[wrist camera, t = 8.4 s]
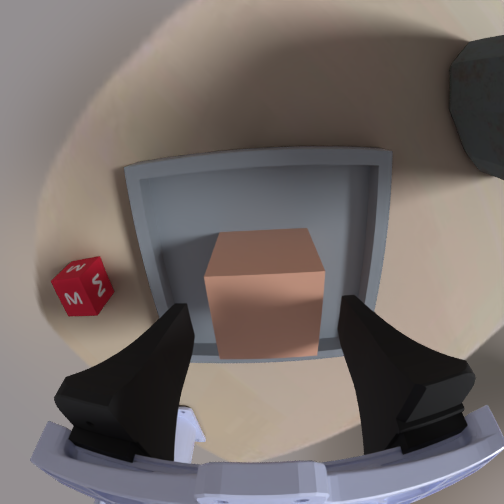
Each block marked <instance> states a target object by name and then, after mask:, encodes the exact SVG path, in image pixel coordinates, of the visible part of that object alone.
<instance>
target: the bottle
mask: <svg viewBox="0 0 504 504" xmlns="http://www.w3.org/2000/svg"><path fill="white" fill-rule="evenodd" d="M449 110H450V112H451V115H452V117H453V120H454V122H455V125H456V128H457V130H458V133H459V136H460V139H461V142H462V145H463V148H464V150H465V152H466V153H467V155H468V156H469V157H470V159H471V160H472V161H473V163H474V164H475V165H476V167H477V168H478V169H479V171H481V172H484V173H487V174H490V175H492V176H495V177H497V178H500V179H502V180H504V35H501V36H495V37H490V38H485V39H480V40H475V41H471V42H469V43H468V44H467V46H466V47H465V48H464V49H463V51H462V52H461V53H460V54H459V56H458V57H457V58H456V59H455V60H454V62H453V63H452V65H451V67H450V102H449Z"/></svg>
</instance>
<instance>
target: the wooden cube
mask: <svg viewBox="0 0 504 504" xmlns="http://www.w3.org/2000/svg"><path fill="white" fill-rule="evenodd" d="M204 280H205V286H206V291H207V297H208V302H209V308H210V313H211V318H212V324H213V329H214V334H215V339H216V344H217V348H218V353H219V358H220V359H271V358H290V357H305V356H317V352H318V344H319V336H320V326H321V317H322V306H323V295H324V282H325V269H324V267H323V264H322V262H321V260H320V257H319V255H318V252H317V250H316V247H315V245H314V243H313V240H312V238H311V236H310V233H309V231H308V229H307V228H294V229H272V230H252V231H233V232H220V233H219V235H218V238H217V241H216V244H215V247H214V249H213V252H212V255H211V258H210V261H209V264H208V267H207V269H206V272H205V275H204Z"/></svg>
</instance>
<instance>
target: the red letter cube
mask: <svg viewBox="0 0 504 504" xmlns="http://www.w3.org/2000/svg"><path fill="white" fill-rule="evenodd" d="M51 283H52V285H53V287H54V289H55V291H56V293H57V295H58V297H59V299H60V301H61V303H62V305H63V307H64V309H65V311H66V313H67V314H68V316H97V315H98V314H99V313H100V311H101V310H102V309H103V307H104V306H105V304H106V303H107V302H108V300H109V299H110V297H111V296H112V295H113V293H114V290H113V287H112V285H111V283H110V280H109V278H108V275H107V273H106V271H105V268H104V266H103V263H102V261H101V258H100V256H99V257H93V258H88V259H82V260H77V261H72V262H70V263H69V264H68V265H67V266H66V267H65V268H64V269H63V270H62V271H61V272H60V273H59V274H58V275H57V276H56V277H55V278H54V279H52V280H51Z"/></svg>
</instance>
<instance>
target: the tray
mask: <svg viewBox="0 0 504 504" xmlns="http://www.w3.org/2000/svg"><path fill="white" fill-rule="evenodd" d="M124 171H125V177H126V183H127V189H128V195H129V200H130V205H131V210H132V215H133V220H134V225H135V229H136V234H137V238H138V242H139V247H140V251H141V255H142V259H143V263H144V267H145V270H146V274H147V278H148V281H149V285H150V288H151V292H152V295H153V299H154V302H155V305H156V309H157V312H158V315H159V318H160V317H161V316H162V315H163V314H164V313H165V312H166V311H167V310H168V309H169V308H170V307H171V306H173V305H174V304H175V303H187V306H188V310H189V314H190V318H191V322H192V326H193V330H194V334H195V339H194V347H193V353H192V357H191V360H190V362H191V363H262V362H283V361H299V360H311V359H322V358H331V357H340V356H344V354H343V351H342V348H341V345H340V340H339V335H338V330H337V328H338V321H339V314H340V306H341V298H342V296H344V295H355V296H356V297H358V298H359V299H360V300H361V301H362V302H363V303H364V304H365V305H367V306H368V307H369V308H370V309H371V310H372V311H373V312H374V309H375V305H376V300H377V295H378V289H379V284H380V278H381V272H382V266H383V260H384V253H385V245H386V238H387V229H388V220H389V209H390V196H391V180H392V151H390V150H386V149H382V148H373V147H349V146H290V147H266V148H249V149H236V150H224V151H214V152H205V153H196V154H188V155H180V156H173V157H167V158H160V159H154V160H148V161H142V162H137V163H134V164H131V165H129V166H126V167H124ZM294 228H307V229H308V231H309V233H310V236H311V238H312V240H313V243H314V245H315V247H316V250H317V252H318V255H319V257H320V260H321V262H322V264H323V267H324V269H325V282H324V295H323V306H322V317H321V326H320V336H319V344H318V352H317V356H305V357H290V358H271V359H220V358H219V353H218V348H217V344H216V339H215V334H214V329H213V324H212V318H211V313H210V308H209V302H208V297H207V291H206V286H205V280H204V275H205V272H206V269H207V267H208V264H209V261H210V258H211V255H212V252H213V249H214V247H215V244H216V241H217V238H218V235H219V233H220V232H233V231H252V230H272V229H294Z"/></svg>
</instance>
